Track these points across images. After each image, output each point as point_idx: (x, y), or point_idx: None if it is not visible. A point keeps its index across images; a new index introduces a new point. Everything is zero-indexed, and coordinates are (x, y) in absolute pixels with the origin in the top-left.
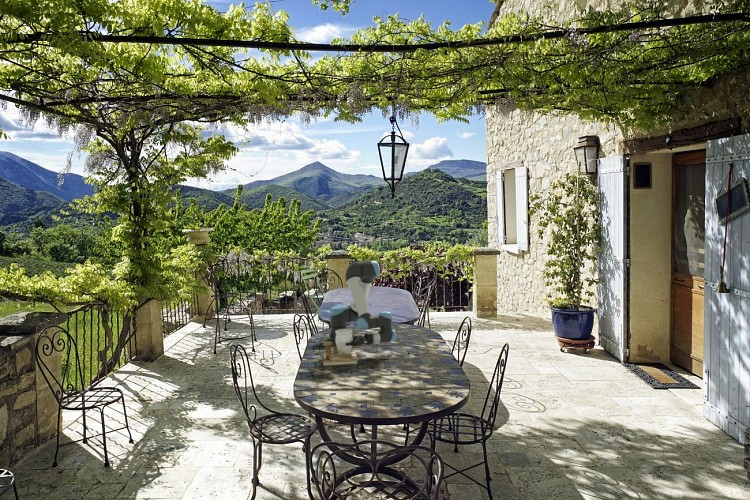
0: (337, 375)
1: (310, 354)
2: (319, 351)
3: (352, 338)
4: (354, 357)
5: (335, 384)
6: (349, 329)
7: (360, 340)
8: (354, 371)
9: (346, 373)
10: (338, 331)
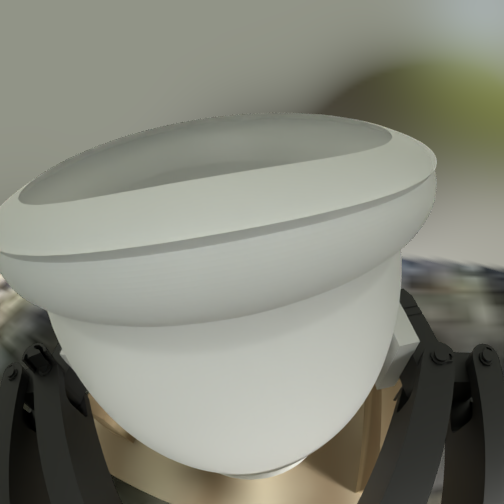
0: (32, 304)
1: (408, 260)
2: (460, 291)
3: (124, 427)
4: (174, 486)
5: (2, 282)
6: (381, 211)
7: (7, 498)
8: (7, 366)
9: (18, 333)
10: (335, 148)
